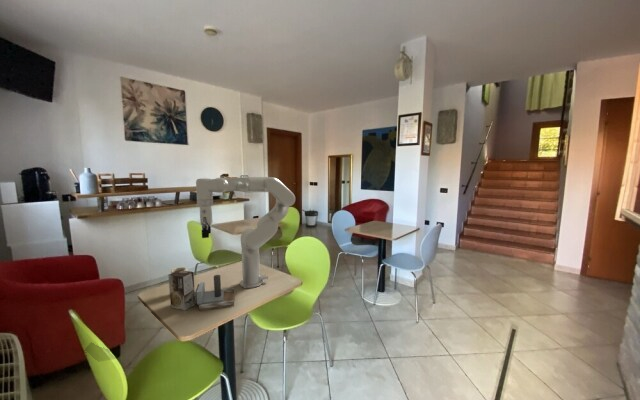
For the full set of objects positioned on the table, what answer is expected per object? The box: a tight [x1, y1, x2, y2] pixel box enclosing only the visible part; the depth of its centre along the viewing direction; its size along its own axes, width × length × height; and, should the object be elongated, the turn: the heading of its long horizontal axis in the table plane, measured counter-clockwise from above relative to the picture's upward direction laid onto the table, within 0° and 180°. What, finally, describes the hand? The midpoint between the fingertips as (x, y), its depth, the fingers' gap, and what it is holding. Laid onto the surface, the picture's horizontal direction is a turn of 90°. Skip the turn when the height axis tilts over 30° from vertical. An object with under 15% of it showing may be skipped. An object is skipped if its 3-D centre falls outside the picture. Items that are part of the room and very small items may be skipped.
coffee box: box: [168, 270, 196, 311], centre depth 123 cm, size 9×6×16 cm
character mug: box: [170, 266, 190, 274], centre depth 135 cm, size 11×7×13 cm, turn 153°
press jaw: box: [194, 274, 224, 306], centre depth 126 cm, size 12×11×12 cm
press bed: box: [198, 287, 235, 312], centre depth 128 cm, size 15×15×2 cm
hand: (206, 235), depth 135 cm, fingers open, 9 cm apart
